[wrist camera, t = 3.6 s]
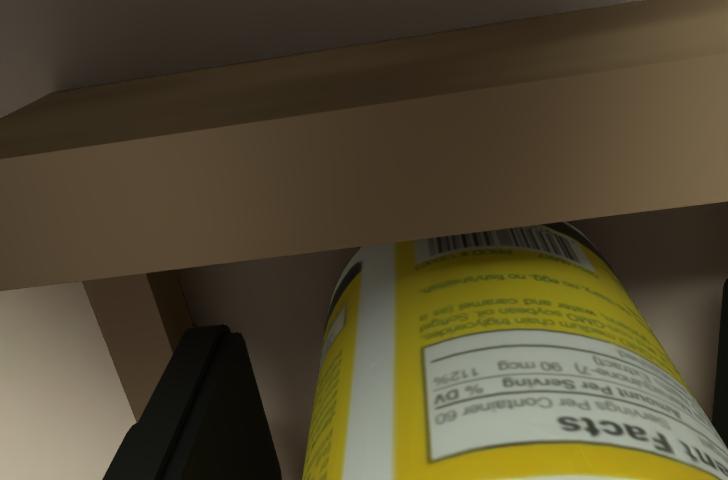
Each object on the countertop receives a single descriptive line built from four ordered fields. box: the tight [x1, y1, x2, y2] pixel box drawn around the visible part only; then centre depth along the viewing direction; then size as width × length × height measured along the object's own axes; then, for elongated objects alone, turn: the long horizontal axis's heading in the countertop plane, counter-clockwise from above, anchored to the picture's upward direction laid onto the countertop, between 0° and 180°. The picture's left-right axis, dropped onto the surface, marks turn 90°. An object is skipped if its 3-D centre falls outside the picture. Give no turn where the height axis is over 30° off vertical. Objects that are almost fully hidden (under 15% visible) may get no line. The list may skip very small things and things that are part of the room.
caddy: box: [0, 0, 728, 423], centre depth 9 cm, size 11×9×4 cm
